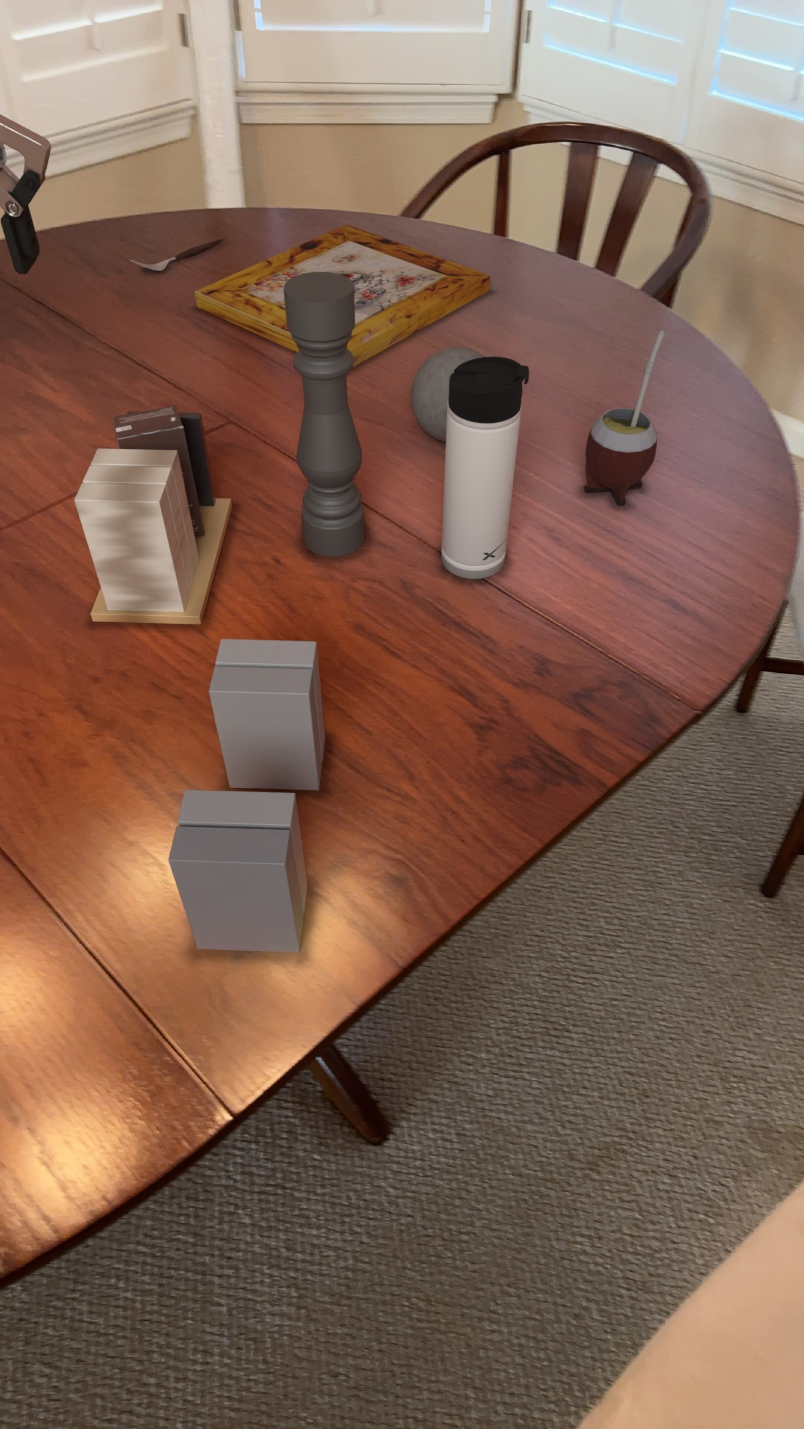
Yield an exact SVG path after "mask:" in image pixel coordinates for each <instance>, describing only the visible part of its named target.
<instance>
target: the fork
mask: <svg viewBox="0 0 804 1429" xmlns="http://www.w3.org/2000/svg"><path fill="white" fill-rule="evenodd" d="M222 242H224V238H220V239H215V240H212V241H209V242H206V243H203V244H200V245H196V246H193V247H191V248H189V249H186V250H184V251H182V252H181V253H178V254H176V255H173V256H172V257H170V258H167V259H165V260H163V261H159V262H157V263H151V264H147V263H142V262H139V261H136V260H133V259H131V258H129V261H130V262H132V263H134V264H136V265H138V266H139V267H142V268H145V269H148V270H151V271H156V272H157V271H158V272H161V271H164V270H165V269H166V268H167V267H168V265H169V263H171V262H172V261H174V260H175V261H176V260H178V259H182V258H185V257H189V256H193V255H196V254H199V253H200V252H203V251H204V250H206V249H209V248H211V247H213V246H216V245H218V244H220V243H222Z"/></svg>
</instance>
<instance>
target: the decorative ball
mask: <svg viewBox="0 0 804 1429" xmlns="http://www.w3.org/2000/svg"><path fill="white" fill-rule="evenodd" d="M481 357H485V356H484V355H483V354H482V353H480V352H478V351H476V350H474V349H471V348H468V347H463V346H453V347H446V348H443V349H439V350H437V351H436V352H433V353H432V354H431V355H430V356H428V357H427V358H426V359H424V361H423V362H422V363H421V364H420V366H419V367H418V368H417V370H416V372H415V374H414V376H413V378H412V382H411V386H410V396H409V397H410V406H411V410H412V413H413V415H414V416H413V417H415V420H416V422H417V423H418V425H419V426H420V427H421V429H422V430H423V431H424V432H425V433H426V434H428V435H429V436H430V437H432V438H434V439H435V440H438V441H440V442H443V443H446V429H447V410H448V409H447V406H448V398H449V379H450V376H451V374H452V373H454V369H455V368H456V367H457V366H458V365H460V364H462V363H464V362H466V361H469V360H472V359H476V358H481Z"/></svg>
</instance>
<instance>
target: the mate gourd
mask: <svg viewBox="0 0 804 1429" xmlns="http://www.w3.org/2000/svg"><path fill="white" fill-rule="evenodd" d="M665 334H666V332H665V331H664V330H660V331H659V332H658V334H657V337H656V340H655V342H654V345H653V347H652V350H651V352H650V356H649V358H648V361H647V362H646V364H645V367H644V371H643V372H644V375H643V379H642V383H641V385H640V386H641V387H640V390H639V394H638V398H637V400H636V404H635V408H628V407H627V408H626V407H618V408H612V409H609V410H606V411H604V412H603V413H602V414H601V415H600V416H599V417H598V418H596V420H595V421H593V423H592V425H591V428H590V430H589V432H588V436H587V439H586V445H585V465H584V466H585V468H584V470H585V478H586V485H584V486H583V491H584V493H585V494H595V493H606V492H608V493H610V494H611V496H612V498H613V499H614V501H615V504H616V505H617V506H618V507H625V505H626V503H627V501H626V499H625V496H626V493H627V491H628V490H638V489H642V487H643V484H644V483H643V482H642V481H641V480H642V479H643V477H644V476H645V475H646V474H647V473H648V471H649V470H650V468H651V467H652V465H653V463H654V460H655V458H656V453H657V446H658V431H657V429H656V426H655V425H654V422H653V421H652V419H651V418H650V416H648V415H647V414H645V413H644V412H642V411H641V410H642V406H643V402H644V399H645V395H646V392H647V389H648V385H649V382H650V379H651V374H653V372H654V368H655V360H656V357H657V356H658V352H659V349H660V347H661V344H662V341H663V339H664V336H665Z"/></svg>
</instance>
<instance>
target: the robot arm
mask: <svg viewBox="0 0 804 1429" xmlns="http://www.w3.org/2000/svg"><path fill="white" fill-rule="evenodd" d="M5 146H7V147H9V148H11V149H13V150H14V151H16V152H18V153H20V154H21V155H22V156H23V160H24V165H23V172H22V175H21V176H20V178H19V177H18V176H17V175H16V174H15V173H14V172H13V171H12V170H11V169H10V168H9V167H8V165H6V164H7V152H6V147H5ZM51 152H52V144H51V142H50V140H48V138H46V137H45V136H42V135H41V134H39V133H37V132H35V131H33V130H31V129H29V128H27V127H25V126H23V125H21V124H20V123H18V122H16V121H14V120H12V119H10V118H9V117H6V116H4V115H2V114H0V209H2V210H3V212H4V214H3V215H2V216H1V217H0V225H1V229H2V232H3V235H4V239H5V242H6V246H7V249H8V252H9V255H10V259H11V262H12V266H13V269H14V272H15V273H17V274H18V275H27V274H28V273H29V271H30V270H31V269H32V267H33V266H34V264H35V263H36V262H37V260H38V257H39V256H40V250H41V248H40V243H39V239H38V235H37V231H36V228H35V224H34V221H33V217H32V214H31V210H30V206H29V205H30V203H31V202H32V200H33V199H34V197H35V196H36V194H37V193H38V191H39V190H40V188H41V187H42V185H43V184H44V182H45V180H46V172H47V169H48V165H49V160H50V156H51Z"/></svg>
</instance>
